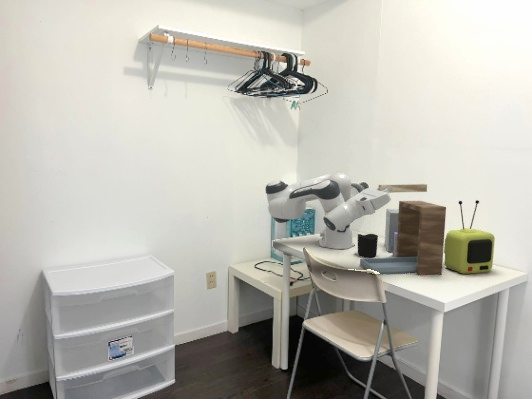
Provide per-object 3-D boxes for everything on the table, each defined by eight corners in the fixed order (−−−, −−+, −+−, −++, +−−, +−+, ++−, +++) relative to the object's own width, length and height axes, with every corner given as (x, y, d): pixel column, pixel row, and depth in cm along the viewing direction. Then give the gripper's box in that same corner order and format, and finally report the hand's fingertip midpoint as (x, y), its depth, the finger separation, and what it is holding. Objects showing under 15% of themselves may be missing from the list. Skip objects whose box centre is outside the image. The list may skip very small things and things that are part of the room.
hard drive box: (403, 253, 199) (405, 213, 197) (387, 252, 200) (389, 212, 198) (398, 245, 214) (400, 208, 212) (384, 245, 216) (385, 208, 213)
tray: (359, 265, 178) (360, 258, 177) (416, 263, 182) (417, 256, 181) (372, 275, 164) (373, 267, 163) (434, 272, 168) (434, 265, 167)
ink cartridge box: (413, 257, 191) (414, 227, 189) (415, 260, 185) (416, 229, 184) (391, 256, 193) (393, 226, 191) (392, 259, 187) (394, 228, 186)
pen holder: (373, 259, 187) (374, 238, 186) (354, 256, 192) (354, 235, 191) (379, 255, 195) (380, 234, 194) (360, 252, 200) (361, 232, 199)
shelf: (396, 261, 183) (399, 200, 180) (416, 261, 185) (420, 200, 181) (419, 275, 164) (422, 207, 160) (441, 274, 165) (446, 207, 162)
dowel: (378, 191, 168) (378, 184, 168) (422, 191, 171) (423, 183, 171) (381, 192, 165) (381, 185, 165) (426, 191, 168) (427, 184, 168)
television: (463, 276, 163) (468, 203, 159) (433, 264, 180) (437, 197, 177) (497, 273, 168) (503, 201, 164) (465, 261, 185) (470, 196, 182)
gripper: (354, 207, 177) (381, 191, 178) (374, 215, 157) (403, 196, 158) (348, 195, 176) (374, 179, 176) (366, 201, 155) (396, 183, 156)
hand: (388, 187), depth 167 cm, fingers closed on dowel, 3 cm apart
